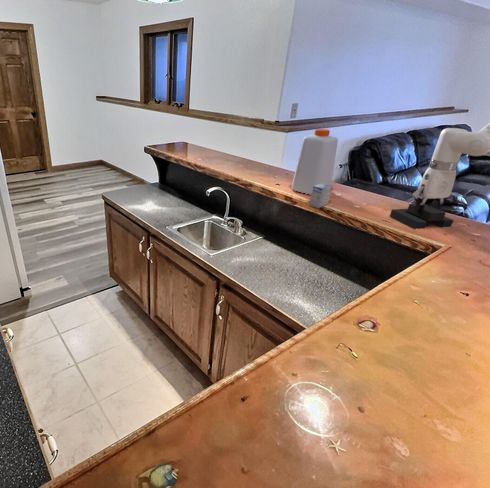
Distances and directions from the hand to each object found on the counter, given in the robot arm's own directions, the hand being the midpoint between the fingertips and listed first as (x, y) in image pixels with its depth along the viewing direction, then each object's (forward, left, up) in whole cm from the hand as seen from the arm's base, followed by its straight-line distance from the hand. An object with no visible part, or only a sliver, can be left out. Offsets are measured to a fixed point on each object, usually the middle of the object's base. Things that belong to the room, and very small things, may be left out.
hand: (425, 213), depth 130 cm
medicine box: (+28, -24, -4) cm, 37 cm away
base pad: (0, -1, -4) cm, 4 cm away
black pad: (0, 0, -1) cm, 1 cm away
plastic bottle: (+21, -43, -4) cm, 48 cm away
